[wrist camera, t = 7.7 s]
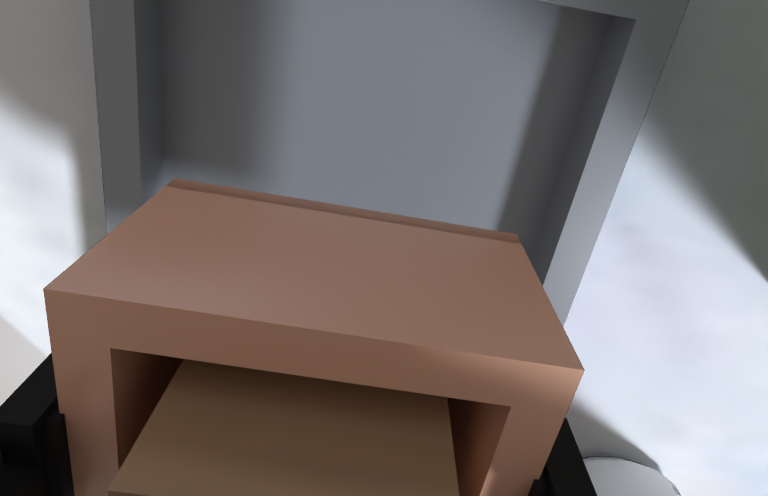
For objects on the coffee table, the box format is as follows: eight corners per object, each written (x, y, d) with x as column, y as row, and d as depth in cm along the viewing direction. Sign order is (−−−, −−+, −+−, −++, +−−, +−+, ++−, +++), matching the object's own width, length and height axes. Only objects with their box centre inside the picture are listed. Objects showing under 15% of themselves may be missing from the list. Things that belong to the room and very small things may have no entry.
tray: (125, -124, 15) (79, -142, 13) (656, -21, 16) (697, -22, 14) (146, 364, 23) (119, 405, 21) (500, 416, 24) (511, 460, 22)
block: (238, 264, 11) (107, 490, 6) (434, 295, 11) (465, 537, 6) (229, 414, 13) (124, 683, 8) (399, 438, 13) (400, 715, 8)
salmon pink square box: (175, 177, 11) (43, 288, 7) (516, 234, 11) (584, 370, 7) (176, 435, 14) (86, 616, 10) (443, 472, 14) (462, 661, 10)
